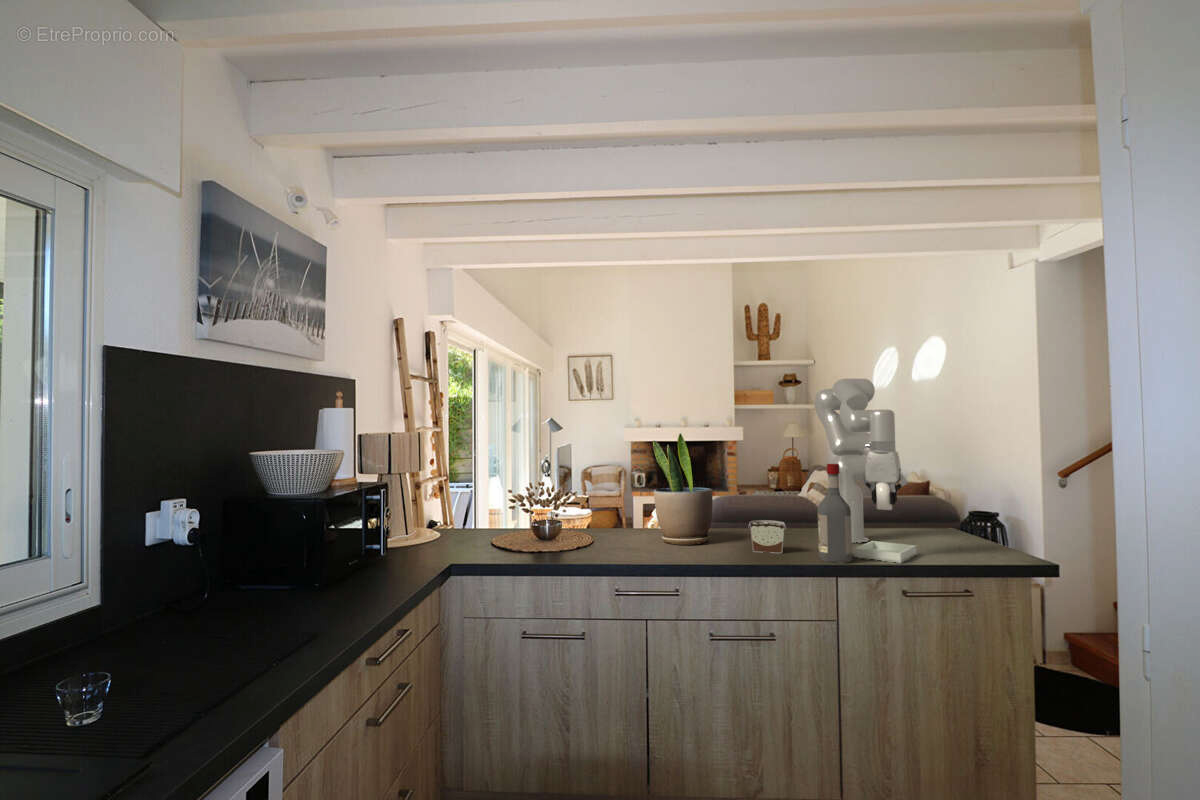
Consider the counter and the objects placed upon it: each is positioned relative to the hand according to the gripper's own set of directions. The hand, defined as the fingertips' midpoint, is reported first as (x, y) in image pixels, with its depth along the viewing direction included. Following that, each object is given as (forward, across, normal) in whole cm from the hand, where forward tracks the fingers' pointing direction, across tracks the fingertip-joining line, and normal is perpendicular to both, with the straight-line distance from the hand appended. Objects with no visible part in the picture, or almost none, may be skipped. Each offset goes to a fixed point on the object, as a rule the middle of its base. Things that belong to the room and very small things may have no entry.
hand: (884, 503), depth 203 cm
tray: (+17, 0, 0) cm, 17 cm away
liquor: (+17, -10, -17) cm, 26 cm away
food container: (+17, -33, -16) cm, 41 cm away
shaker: (+2, 0, 0) cm, 2 cm away
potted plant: (+17, -65, -19) cm, 70 cm away
